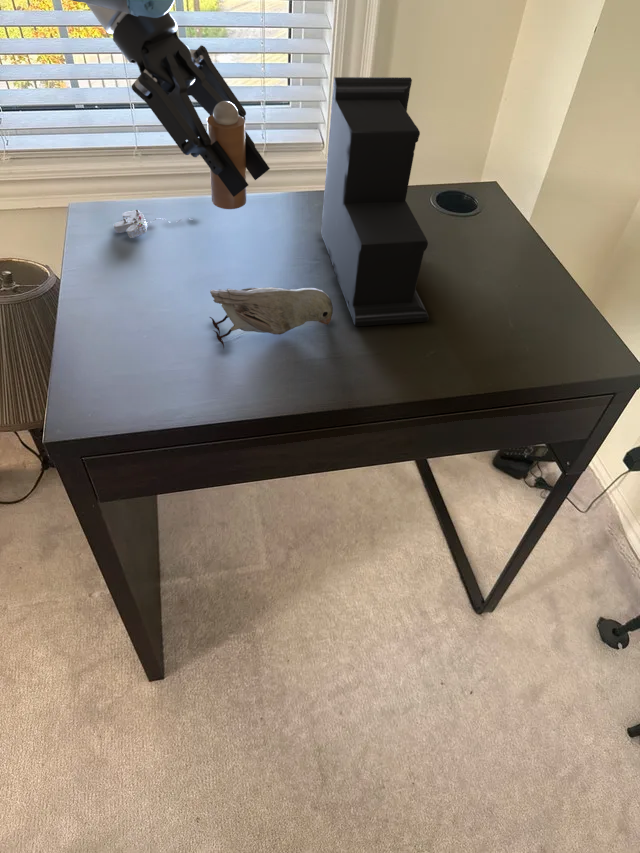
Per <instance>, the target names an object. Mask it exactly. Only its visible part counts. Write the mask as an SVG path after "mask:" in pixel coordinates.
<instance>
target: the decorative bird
mask: <svg viewBox="0 0 640 853" xmlns="http://www.w3.org/2000/svg"><path fill="white" fill-rule="evenodd" d="M209 292H210V295H211V297H212V298H213V302H214V303H215V304H220V305H221V308H222V310H224V312H225V316H224V317H223V318H222V319H221V320H219V321H217V322H216V321H215V319H214V318H213V317H211V316H209V319H211V321H212V325H213V327H214V328H215V329H216V330H217V331H216V330H212V331H213V332H214V333H215V334H216V339H217V340H218V342H220V344H221V345H222V347H223V348H222V349H223V350H225V343H224V342H225V341H224V340H223V338H225V337H227V336H230V334H231V333H232V332H233V331H237V330H241V331H243V332H254V333H268V334H272V335H278V336H279V335H280V336H281V335H283V334H285V333H287V332H288V331H291V330H293V329H295V328H297V327H300V326H302V325H304V324H305V323H307V322H318V323H321V324H324V325H327V326H328V325H329V324H330V322H331V320H332V316H333V310H334V308H333V303H332V299H331V298H330V296H329V295H328V294H327V293H326V291H323V290H322V289H319V288H315V287H302V288H298V289H297V288H296V289H287V288H282V287H271V286H270V287H248V288H242V289H234V288H226V289H211V290H210V291H209ZM228 318H229V321H231V323H232V324H233V326H231V327H230V329H229V330H228V331H226V333H224V334H222V335H221V330H220V327H219V326H218V325H220V324H222V323H224V322H225V321H226V320H227V319H228Z"/></svg>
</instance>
